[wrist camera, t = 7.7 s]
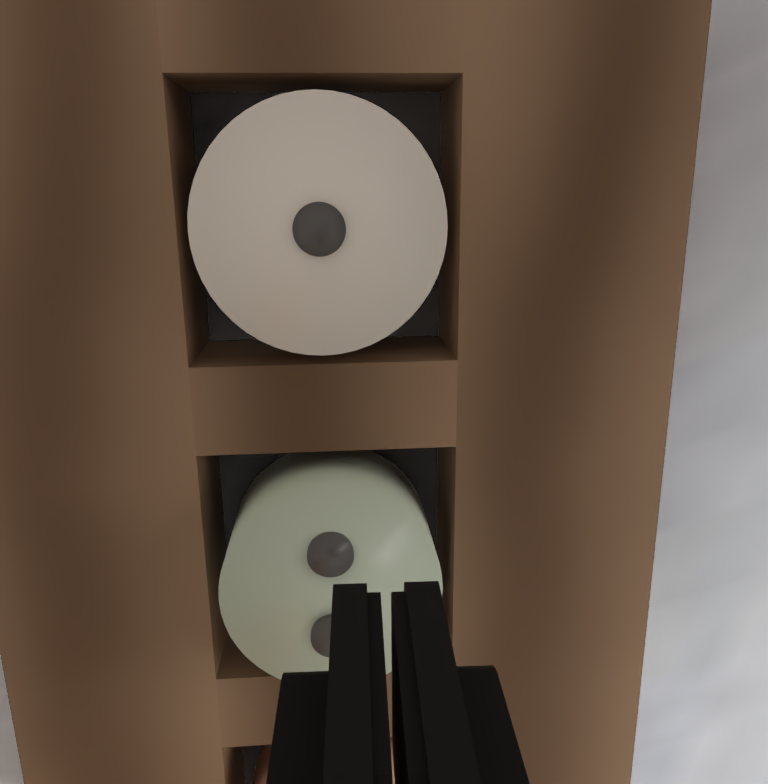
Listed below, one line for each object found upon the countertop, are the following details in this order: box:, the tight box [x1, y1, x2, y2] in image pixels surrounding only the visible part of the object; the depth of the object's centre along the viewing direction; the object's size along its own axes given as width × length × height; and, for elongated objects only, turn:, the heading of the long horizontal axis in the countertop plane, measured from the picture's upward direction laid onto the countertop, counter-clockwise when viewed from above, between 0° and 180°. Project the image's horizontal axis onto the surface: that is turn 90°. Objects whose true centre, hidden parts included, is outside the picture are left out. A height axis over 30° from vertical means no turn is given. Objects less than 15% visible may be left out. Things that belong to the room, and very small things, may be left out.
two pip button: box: [218, 450, 443, 680], centre depth 15 cm, size 4×4×3 cm
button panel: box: [0, 0, 712, 784], centre depth 16 cm, size 14×22×2 cm, turn 1°
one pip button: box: [187, 89, 448, 356], centre depth 13 cm, size 4×4×3 cm
